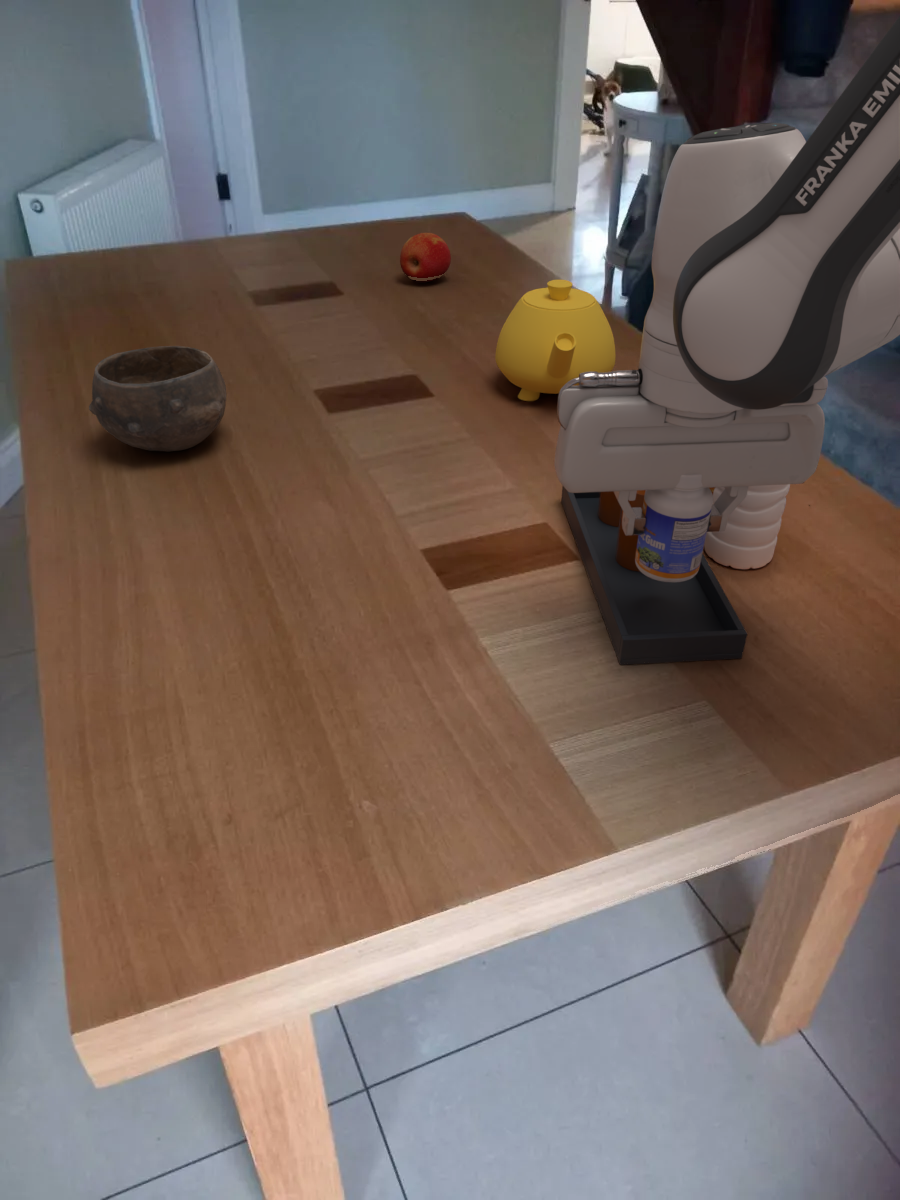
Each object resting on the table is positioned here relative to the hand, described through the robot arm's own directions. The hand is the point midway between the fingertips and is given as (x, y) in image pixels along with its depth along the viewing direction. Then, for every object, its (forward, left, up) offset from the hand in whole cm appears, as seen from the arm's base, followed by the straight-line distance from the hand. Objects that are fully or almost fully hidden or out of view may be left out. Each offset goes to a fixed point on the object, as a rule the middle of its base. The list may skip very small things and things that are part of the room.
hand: (673, 530), depth 75 cm
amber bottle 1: (0, -16, -8) cm, 18 cm away
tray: (0, -7, -9) cm, 11 cm away
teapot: (+1, -49, -9) cm, 50 cm away
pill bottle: (0, 0, -4) cm, 4 cm away
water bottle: (-11, -10, -9) cm, 17 cm away
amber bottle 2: (0, -8, -8) cm, 11 cm away
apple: (+15, -99, -9) cm, 101 cm away
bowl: (+49, -38, -9) cm, 63 cm away
